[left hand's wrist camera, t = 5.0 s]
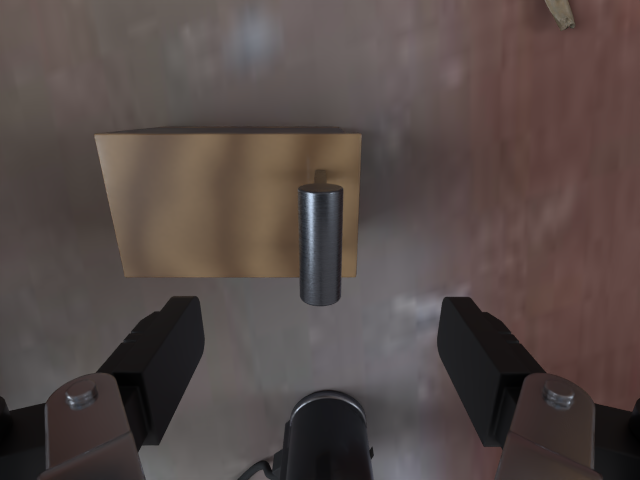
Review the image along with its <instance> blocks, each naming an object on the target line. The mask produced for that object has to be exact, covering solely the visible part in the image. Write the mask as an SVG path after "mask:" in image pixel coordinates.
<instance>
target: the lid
mask: <svg viewBox="0 0 640 480" xmlns="http://www.w3.org/2000/svg"><path fill="white" fill-rule="evenodd" d="M94 137H95V142H96V146H97V151H98V156H99V160H100V165H101V169H102V174H103V179H104V183H105V188H106V192H107V197H108V202H109V206H110V211H111V215H112V220H113V225H114V229H115V234H116V238H117V243H118V248H119V252H120V257H121V261H122V266H123V271H124V275H125V277H300V297H301V299H302V301H304V302H305V303H307V304H309V305H313V306H328V305H332V304H334V303H336V302H337V301H339V299H340V297H341V277H356V268H357V243H358V218H359V193H360V168H361V143H362V134H360V133H97V134H94Z"/></svg>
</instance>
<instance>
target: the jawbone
mask: <svg viewBox="0 0 640 480" xmlns="http://www.w3.org/2000/svg"><path fill="white" fill-rule="evenodd" d="M545 2H546V4H547V7H548V8H549V10H550V12H551V13H552V15H553V17H554V19H555V21H556V23H557V24H558V27H559V28H560V31H562V30H565V29H567V28H568V27H569V26H571V27H570V28H574V27H575V23H574V18H573V15H572V12H571V9H570V6H569V2H568V0H545Z"/></svg>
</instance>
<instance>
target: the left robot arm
mask: <svg viewBox="0 0 640 480" xmlns="http://www.w3.org/2000/svg"><path fill="white" fill-rule="evenodd" d="M204 343H205V338H204V330H203V323H202V315H201V308H200V302H199V299H198V297H196V296H173V297H171V298H170V300H169V301H168V302H167V303H166V305H165V306H164V307H163V308H162V310H161V311H160V312H153V313H152V314H150V315H149V316H147V317H146V318H144V319H142V320H141V321H140V322H139V323H138V324H137V325H136V327H135V328H134V329H133V330H132V331H131V334H129V335H128V336H127V337H126V338H125V339H124V342H123V343H121V344H120V345H119V346H118V348H117V349H116V350H115V351H114V352H113V353H112V355H111V356H110V357H109V358H108V359H107V360H106V362H105V363H104V364H103V365H102V366H101V367H100V369H99V370H98V371H97V372H96V373H92V374H88V375H84V376H81V377H78V378H76V379H73V380H71V381H69V382H67V383H66V384H64V385H63V386H61V387H60V388H58V389H57V390H56V391H55V392H54V393H53V394H52V395H51V396H50V397H49V399H48V400H47V402H46V403H43V404H38V405H34V406H30V407H25V408H21V409H16V410H12V411H9V410H8V407H7V405H6V402H5V400H4V399H3V398H2V397H1V396H0V480H146V479H145V476H144V472H143V469H142V465H141V462H140V458H139V455H138V452H139V450H140V448H141V446H142V445H159V444H160V442H161V440H162V438H163V435H164V433H165V431H166V429H167V427H168V425H169V423H170V421H171V419H172V417H173V415H174V413H175V411H176V409H177V406H178V404H179V402H180V400H181V398H182V396H183V394H184V392H185V390H186V388H187V386H188V384H189V382H190V380H191V378H192V375H193V373H194V371H195V369H196V367H197V365H198V363H199V361H200V359H201V357H202V354H203V350H204ZM437 346H438V352H439V355H440V358H441V360H442V362H443V364H444V366H445V368H446V370H447V372H448V374H449V376H450V378H451V380H452V382H453V385H454V387H455V389H456V391H457V393H458V395H459V397H460V399H461V401H462V403H463V405H464V407H465V409H466V411H467V413H468V415H469V417H470V419H471V421H472V423H473V425H474V427H475V429H476V432H477V434H478V436H479V438H480V440H481V442H482V444H483V446H484V447H501V448H502V450H503V451H502V455H501V458H500V462H499V465H498V469H497V472H496V476H495V479H494V480H640V398H639V399H638V400H637V402H636V404H635V407H634V409H633V412H630V411H626V410H621V409H617V408H612V407H608V406H603V405H599V404H595V403H594V402H593V400H592V399H591V397H590V396H589V395H588V394H587V393H586V392H585V391H584V390H583V389H582V388H580V387H579V386H577V385H576V384H574V383H573V382H571V381H569V380H567V379H564V378H562V377H559V376H556V375H552V374H548V373H546V372H545V371H544V370H543V369H542V367H541V366H540V365H539V364H538V363H537V362H536V360H535V359H534V358H533V357H532V356H531V355H530V354H529V352H528V351H527V350H526V349H525V348H524V347H523V345H522V344H519V341H518V340H517V338H516V337H515V336H514V335H513V334H511V332H510V330H509V329H508V328H507V327H506V326H505V325H504V323H503V322H502V321H500V320H499V319H497V318H496V317H494V316H492V315H491V314H489V313H488V312H482V311H481V310H480V309H479V308H478V306H477V305H476V304H475V303H474V301H473V300H472V299H471V298H470V297H445V298H444V299H443V302H442V307H441V315H440V322H439V329H438V336H437ZM366 428H367V424H366V417H365V413H364V410H363V408H362V406H361V405H360V404H359V403H358V402H357V401H356V400H355V399H353V398H352V397H350V396H348V395H346V394H343V393H340V392H334V391H323V392H317V393H314V394H311V395H309V396H307V397H305V398H303V399H302V400H301V401H299V402H298V403H297V405H296V406H295V407H294V409H293V411H292V414H291V420H290V421H288V422H287V423H286V424H285V433H284V442H283V449H282V450H280V451H279V452H277V453H276V454H274V461H273V468H272V470H271V467H270V465H269V463H268V462H266V461H261V462H258V463H256V464H254V465H253V466H252V467H250V468H249V469H248V470H247V471H246V472H245V473H244V474H243V475H242V476H241V477H240V478H239V479H238V480H248V479H249V478H250V477H251V476H252V475H253V474H255V473H256V472H257V471H259V470H262V469H263V470H264V473H265V476H266V477H267V478H269V479H271V480H374V477H373V471H372V464H371V459H372V457H373V456H374V454H373V447H372V448H371V449H370V450H369V443H368V437H367V430H366Z"/></svg>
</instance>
